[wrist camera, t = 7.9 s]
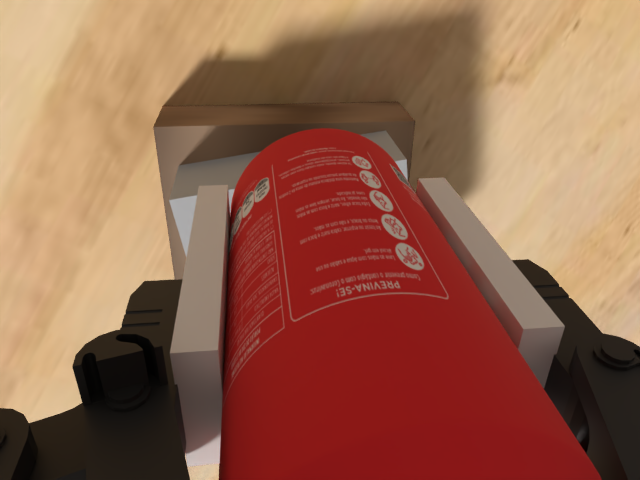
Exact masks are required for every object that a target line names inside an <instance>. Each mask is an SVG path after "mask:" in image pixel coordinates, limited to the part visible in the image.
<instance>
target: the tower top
mask: <svg viewBox="0 0 640 480" xmlns="http://www.w3.org/2000/svg"><path fill="white" fill-rule="evenodd" d="M361 136H363V137H366V138H367V139H369V140H371V141H373V142H374V143H376V144H377V145H379V146H380V147H381V148H383V149H384V150H385V151H386V152H387V153H388V154H389V155H390V156H391V157H392V159H393V160H394V161H395V163H396V164H397V165H398V167H399V168H400V170H401V171H402V173H403V174H404V176H405V178H406V179H407V181H408V176H407V159H406V158H405V157H404V155H403V154H402V152H401V151H400V150H399V148H398V147H397V145H396V144H395V143H394V141H393V140H392V138H391V137H390V136H389V134H388V133H387V131H386V130H385V131H379V132H373V133H367V134H361ZM259 153H260V152H255V153H249V154H244V155H238V156H232V157H226V158H220V159H214V160H208V161H202V162H196V163H191V164H185V165H179V167H178V171H177V174H176V177H175V181H174V184H173V188H172V191H171V195H170V198H169V202H170V205H171V208H172V212H173V215H174V218H175V221H176V225H177V228H178V231H179V235H180V238H181V241H182V245H183V248H184V251H185V254H186V257H187V251H188V246H189V240H190V234H191V228H192V223H193V217H194V211H195V205H196V199H197V194H198V188H199V186H208V185H228V193H229V206H230V213H231V202H232V197H233V193H234V190H235V187H236V185H237V182H238V180H239V178H240V176H241V175H242V173H243V171H244V170H245V168H246V167H247V166H248V164H249V163H250V162H251V161H252V160H253V159H254V158H255V157H256V156H257V155H258V154H259Z"/></svg>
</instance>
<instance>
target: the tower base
mask: <svg viewBox="0 0 640 480" xmlns="http://www.w3.org/2000/svg"><path fill="white" fill-rule="evenodd" d="M414 127H415V120H414V119H413V118H412V117H411V116H410V115H409V114H408V113H407V111H406V110H405V109H404V108H403V107H402V106H401V105H400V104H399V102H365V103H312V104H259V105H207V106H163V107H162V109H161V111H160V113H159V116H158V118H157V120H156V122H155V125H154V134H155V142H156V149H157V156H158V163H159V170H160V177H161V184H162V191H163V199H164V206H165V213H166V220H167V227H168V234H169V241H170V248H171V256H172V263H173V270H174V277H175V280H178V279H183V274H184V269H185V263H186V254H185V251H184V248H183V245H182V241H181V238H180V235H179V231H178V228H177V225H176V221H175V218H174V215H173V212H172V208H171V205H170V202H169V198H170V195H171V191H172V188H173V184H174V181H175V177H176V174H177V171H178V167H179V165H185V164H191V163H196V162H202V161H208V160H214V159H220V158H226V157H232V156H238V155H244V154H249V153H255V152H261V151H262V150H264V149H265V148H266V147H268V146H269V145H271V144H272V143H274V142H276V141H277V140H279V139H281V138H283V137H285V136H288V135H291V134H293V133H297V132H300V131H305V130H310V129H320V128H331V129H340V130H345V131H349V132H353V133H356V134H359V135H361V134H367V133H373V132H379V131H385V130H386V131H387V133H388V134H389V136H390V137H391V138H392V140H393V141H394V143H395V144H396V145H397V147H398V148H399V150H400V151H401V152H402V154H403V155H404V157H405V158H406V159H407V176H408V182H409V174H410V165H411V155H412V146H413V136H414Z"/></svg>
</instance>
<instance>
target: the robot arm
mask: <svg viewBox="0 0 640 480" xmlns="http://www.w3.org/2000/svg"><path fill="white" fill-rule="evenodd" d="M416 194H417V196H418V197H419V199H420V200H421V202H422V204H423V205H424V207H425V208H426V210H427V211H428V213H429V214H430V216H431V217H432V219H433V220H434V222H435V223H436V225H437V226H438V228H439V230H440V231H441V233H442V234H443V236H444V237H445V239H446V240H447V242H448V243H449V245H450V246H451V248H452V249H453V251H454V252H455V254H456V256H457V257H458V259H459V260H460V262H461V263H462V265H463V266H464V268H465V269H466V271H467V272H468V274H469V275H470V277H471V278H472V280H473V281H474V283H475V285H476V286H477V288H478V289H479V291H480V292H481V294H482V295H483V297H484V298H485V300H486V301H487V303H488V304H489V306H490V307H491V309H492V311H493V312H494V314H495V315H496V317H497V318H498V320H499V321H500V323H501V324H502V326H503V327H504V329H505V330H506V332H507V333H508V335H509V337H510V338H511V340H512V341H513V343H514V344H515V346H516V347H517V349H518V350H519V352H520V353H521V355H522V356H523V358H524V359H525V361H526V363H527V364H528V366H529V367H530V369H531V370H532V372H533V373H534V375H535V376H536V378H537V379H538V381H539V382H540V384H541V385H542V387H543V388H544V390H545V392H546V393H547V395H548V396H549V398H550V399H551V401H552V402H553V404H554V405H555V407H556V408H557V410H558V411H559V413H560V414H561V416H562V418H563V419H564V421H565V422H566V424H567V425H568V427H569V428H570V430H571V431H572V433H573V434H574V436H575V437H576V439H577V440H578V442H579V444H580V445H581V447H582V448H583V450H584V451H585V453H586V454H587V456H588V457H589V459H590V460H591V462H592V463H593V465H594V467H595V468H596V470H597V471H598V473H599V475H600V477H601V479H602V480H640V347H639V346H637V345H636V344H634V343H632V342H630V341H628V340H625V339H623V338H621V337H617V336H612V335H608V334H603V333H602V332H601V331H600V330H599V329H598V328H597V327H596V326H595V324H594V323H593V322H592V321H591V320H590V319H589V318H588V317H587V315H586V314H585V313H584V312H583V311H582V310H581V309H580V308H579V306H578V305H577V304H576V303H575V302H574V301H573V300H572V299H571V298H569V295H568V294H567V293H566V292H565V291H564V290H563V288H562V287H559V284H558V283H557V282H556V280H555V279H554V278H553V277H552V276H551V275H550V274H549V273H548V271H546V270H545V269H543V268H541V267H540V266H538V265H536V264H535V263H533V262H532V261H530V260H528V259H527V260H511V259H510V258H509V257H508V255H507V254H506V253H505V252H504V250H503V249H502V248H501V247H500V245H499V244H498V243H497V242H496V240H495V239H494V238H493V237H492V235H491V234H490V233H489V232H488V231H487V229H486V228H485V227H484V226H483V224H482V223H481V222H480V221H479V219H478V218H477V217H476V216H475V214H474V213H473V212H472V211H471V210H470V208H469V207H468V206H467V205H466V203H465V202H464V201H463V200H462V198H461V197H460V196H459V195H458V193H457V192H456V191H455V190H454V189H453V187H452V186H451V185H450V184H449V182H448V181H447V180H446V179H445V177H443V178H418V183H417V192H416ZM229 236H230V206H229V193H228V185H208V186H199V188H198V194H197V199H196V205H195V211H194V217H193V223H192V228H191V234H190V240H189V246H188V251H187V257H186V263H185V269H184V274H183V279H178V280H159V281H144V282H143V283H142V284H141V285H140V286H139V288H138V289H137V290H136V291H135V292H134V293H133V294H132V295H131V296H130V299H129V302H128V306H127V309H126V315H124V319H123V322H122V328H120V330H115V331H112V332H109V333H106V334H103V335H100V336H98V337H97V338H95V339H93V340H92V341H90V342H88V343H87V344H85V345H84V347H83V348H82V349H81V350H80V351H79V352H78V353H77V354H76V356H75V360H74V363H73V370H74V374H75V377H76V381H77V384H78V388H79V392H80V395H81V399H82V402H83V403H82V404H80V405H78V406H76V407H75V408H73V409H70V410H68V411H65V412H63V413H60V414H57V415H54V416H51V417H48V418H45V419H42V420H38V421H35V422H32V423H28V421H27V419H26V418H25V416H24V414H22V413H20V412H18V411H16V410H13V409H4V408H0V480H190V478H189V473H188V469H187V465H188V466H198V465H209V464H220V441H221V419H222V397H223V374H224V351H225V328H226V305H227V282H228V259H229ZM185 453H186V459H187V464H186V460H185Z"/></svg>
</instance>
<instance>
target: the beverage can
mask: <svg viewBox="0 0 640 480" xmlns="http://www.w3.org/2000/svg"><path fill="white" fill-rule="evenodd" d="M219 480H602V479H601V477H600V475H599V473H598V471H597V470H596V468H595V467H594V465H593V463H592V462H591V460H590V459H589V457H588V456H587V454H586V453H585V451H584V450H583V448H582V447H581V445H580V444H579V442H578V440H577V439H576V437H575V436H574V434H573V433H572V431H571V430H570V428H569V427H568V425H567V424H566V422H565V421H564V419H563V418H562V416H561V414H560V413H559V411H558V410H557V408H556V407H555V405H554V404H553V402H552V401H551V399H550V398H549V396H548V395H547V393H546V392H545V390H544V388H543V387H542V385H541V384H540V382H539V381H538V379H537V378H536V376H535V375H534V373H533V372H532V370H531V369H530V367H529V366H528V364H527V363H526V361H525V359H524V358H523V356H522V355H521V353H520V352H519V350H518V349H517V347H516V346H515V344H514V343H513V341H512V340H511V338H510V337H509V335H508V333H507V332H506V330H505V329H504V327H503V326H502V324H501V323H500V321H499V320H498V318H497V317H496V315H495V314H494V312H493V311H492V309H491V307H490V306H489V304H488V303H487V301H486V300H485V298H484V297H483V295H482V294H481V292H480V291H479V289H478V288H477V286H476V285H475V283H474V281H473V280H472V278H471V277H470V275H469V274H468V272H467V271H466V269H465V268H464V266H463V265H462V263H461V262H460V260H459V259H458V257H457V256H456V254H455V252H454V251H453V249H452V248H451V246H450V245H449V243H448V242H447V240H446V239H445V237H444V236H443V234H442V233H441V231H440V230H439V228H438V226H437V225H436V223H435V222H434V220H433V219H432V217H431V216H430V214H429V213H428V211H427V210H426V208H425V207H424V205H423V204H422V202H421V200H420V199H419V197H418V196H417V194H416V193H415V191H414V190H413V188H412V187H411V185H410V184H409V182H408V181H407V179H406V178H405V176H404V174H403V173H402V171H401V170H400V168H399V167H398V165H397V164H396V163H395V161H394V160H393V159H392V157H391V156H390V155H389V154H388V153H387V152H386V151H385V150H384V149H383V148H381V147H380V146H379V145H377V144H376V143H374V142H373V141H371V140H369V139H367V138H366V137H363V136H361V135H359V134H356V133H353V132H349V131H345V130H340V129H331V128H320V129H310V130H305V131H300V132H297V133H293V134H291V135H288V136H285V137H283V138H281V139H279V140H277V141H276V142H274V143H272V144H271V145H269V146H268V147H266V148H265V149H264V150H262V151H261V152H260V153H259V154H258V155H257V156H256V157H255V158H254V159H253V160H252V161H251V162H250V163H249V164H248V166H247V167H246V168H245V170H244V171H243V173H242V175H241V176H240V178H239V180H238V182H237V185H236V187H235V190H234V193H233V197H232V202H231V213H230V236H229V259H228V282H227V305H226V328H225V351H224V374H223V397H222V419H221V441H220V464H219Z"/></svg>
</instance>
